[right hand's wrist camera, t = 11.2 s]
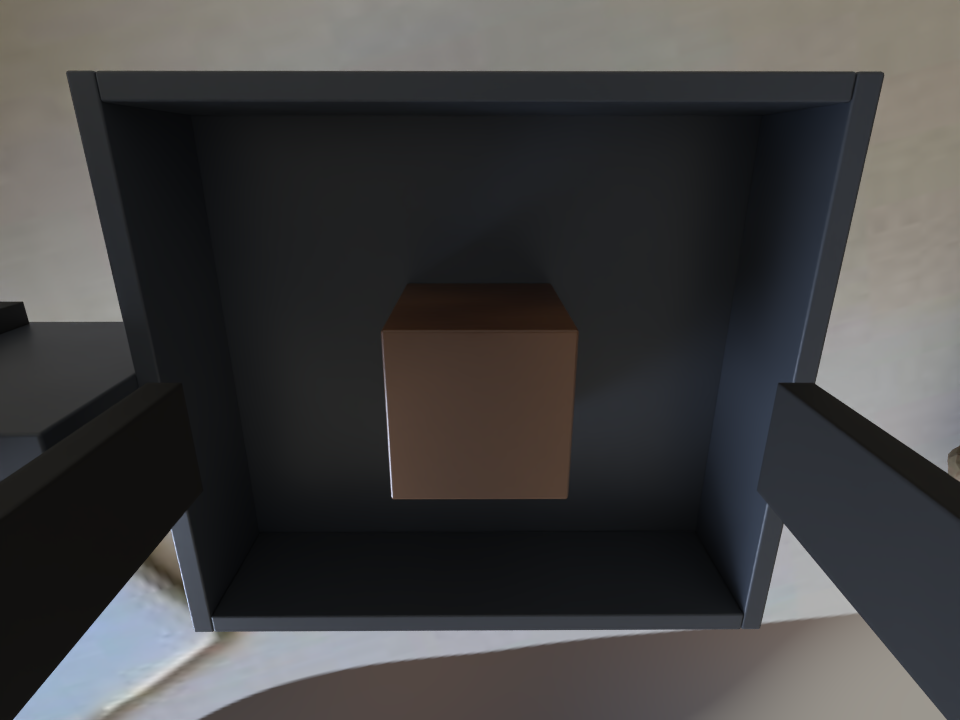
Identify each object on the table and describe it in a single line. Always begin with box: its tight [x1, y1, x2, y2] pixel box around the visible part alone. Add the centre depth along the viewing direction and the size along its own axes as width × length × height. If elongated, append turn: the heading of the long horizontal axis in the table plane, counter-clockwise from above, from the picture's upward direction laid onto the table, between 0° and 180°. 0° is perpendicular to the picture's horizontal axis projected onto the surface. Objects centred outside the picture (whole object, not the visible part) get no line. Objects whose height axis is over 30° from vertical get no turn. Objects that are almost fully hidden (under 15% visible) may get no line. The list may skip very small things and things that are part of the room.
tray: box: [0, 71, 884, 632], centre depth 15 cm, size 27×15×8 cm, turn 90°
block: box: [381, 283, 579, 499], centre depth 16 cm, size 4×4×5 cm
